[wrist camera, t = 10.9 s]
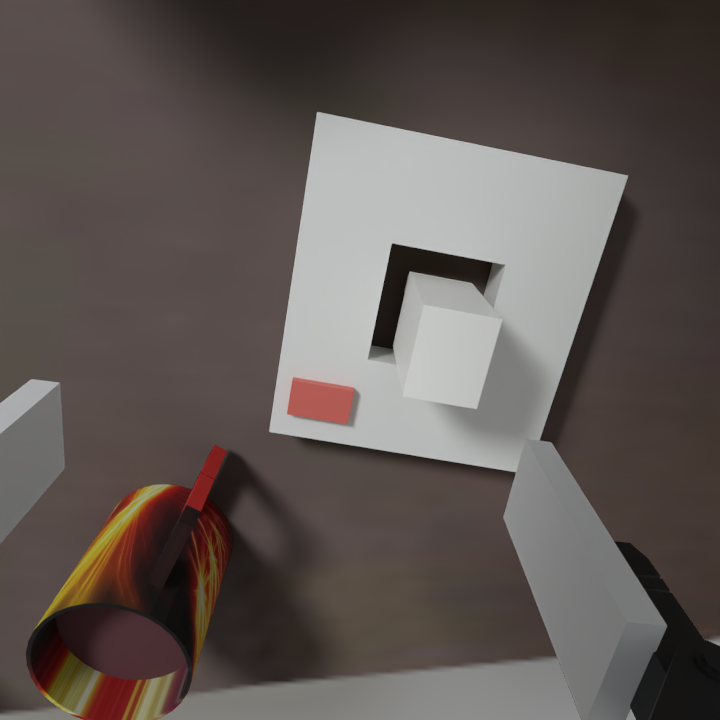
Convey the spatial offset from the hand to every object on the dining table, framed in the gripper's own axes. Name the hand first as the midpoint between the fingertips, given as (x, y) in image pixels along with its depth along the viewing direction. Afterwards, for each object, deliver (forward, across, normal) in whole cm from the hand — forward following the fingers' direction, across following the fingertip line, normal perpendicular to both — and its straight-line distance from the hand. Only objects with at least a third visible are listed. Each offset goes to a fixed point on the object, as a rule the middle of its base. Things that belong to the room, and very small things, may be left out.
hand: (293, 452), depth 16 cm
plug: (+23, +7, -2) cm, 24 cm away
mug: (+23, -10, -20) cm, 32 cm away
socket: (+23, +7, -1) cm, 24 cm away
